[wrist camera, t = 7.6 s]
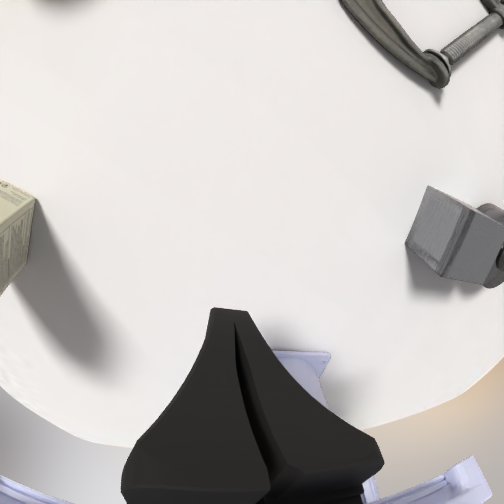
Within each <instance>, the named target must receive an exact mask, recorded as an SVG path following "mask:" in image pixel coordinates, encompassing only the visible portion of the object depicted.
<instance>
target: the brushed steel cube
mask: <svg viewBox="0 0 504 504" xmlns="http://www.w3.org/2000/svg"><path fill="white" fill-rule="evenodd" d="M503 242H504V226H503V225H502V224H500V223H498V222H497V221H495V220H494V219H492V218H491V217H489V216H487V215H486V214H484V213H482V212H481V211H479V210H477V209H476V208H474V207H472V206H470V205H469V204H467V203H464V202H462V201H460V200H458V199H456V198H454V197H452V196H450V195H448V194H446V193H444V192H441V191H439V190H437V189H435V188H433V187H430V186H427V189H426V191H425V194H424V197H423V199H422V202H421V205H420V207H419V210H418V212H417V215H416V217H415V220H414V222H413V225H412V227H411V230H410V232H409V234H408V237H407V239H406V241H405V244H406V245H407V246H408V247H409V248H410V249H412V250H413V251H414V252H415V253H416V254H417V255H418V256H419V257H420V258H421V259H423V260H424V261H425V262H426V263H427V264H428V265H429V266H430V267H431V268H432V269H433V270H434V271H435V272H436V273H437V274H438V275H440V276H441V277H446V278H452V279H457V280H462V281H467V282H472V283H477V284H482V285H483V283H484V281H485V279H486V277H487V275H488V273H489V271H490V269H491V267H492V265H493V263H494V261H495V259H496V257H497V255H498V253H499V251H500V248H501V246H502V244H503Z"/></svg>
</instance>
